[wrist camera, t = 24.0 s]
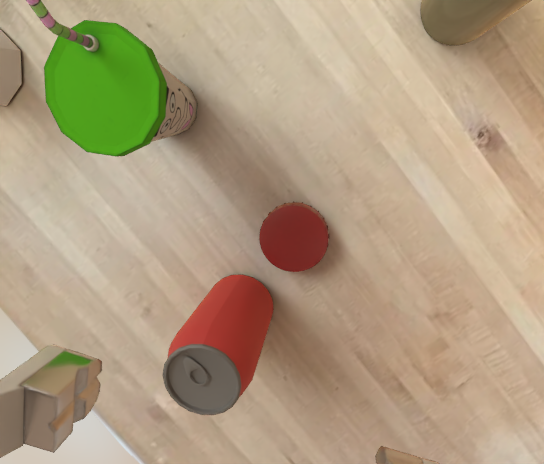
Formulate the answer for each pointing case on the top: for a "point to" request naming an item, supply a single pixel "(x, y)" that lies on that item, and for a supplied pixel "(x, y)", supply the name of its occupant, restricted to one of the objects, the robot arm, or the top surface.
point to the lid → (294, 237)
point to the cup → (111, 88)
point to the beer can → (219, 346)
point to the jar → (464, 18)
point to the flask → (9, 69)
